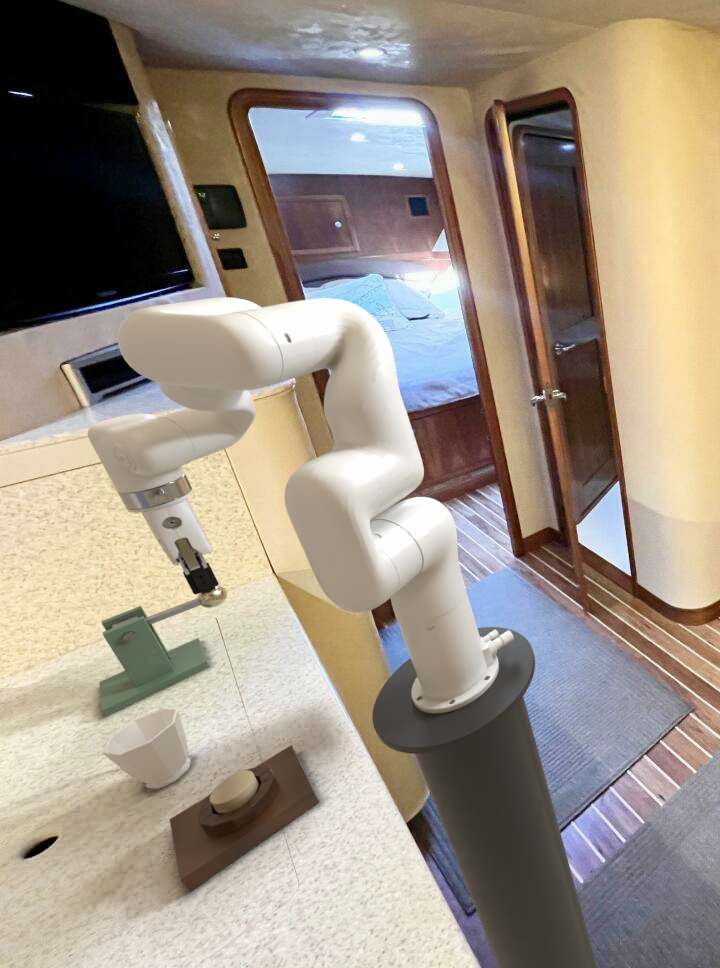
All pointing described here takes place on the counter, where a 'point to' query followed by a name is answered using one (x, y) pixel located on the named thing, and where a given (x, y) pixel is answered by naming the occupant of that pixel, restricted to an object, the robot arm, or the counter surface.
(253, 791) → the button
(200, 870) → the button box
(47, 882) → the counter surface
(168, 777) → the cup
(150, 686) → the bracket
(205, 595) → the lever
